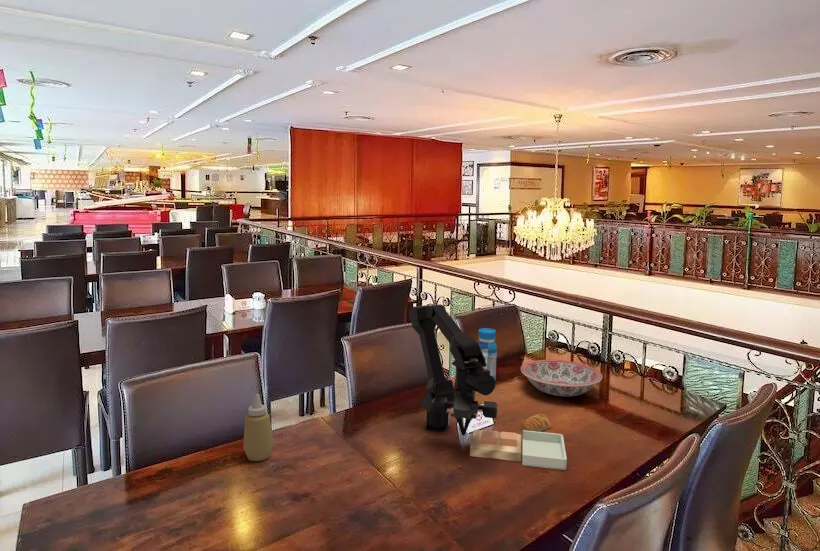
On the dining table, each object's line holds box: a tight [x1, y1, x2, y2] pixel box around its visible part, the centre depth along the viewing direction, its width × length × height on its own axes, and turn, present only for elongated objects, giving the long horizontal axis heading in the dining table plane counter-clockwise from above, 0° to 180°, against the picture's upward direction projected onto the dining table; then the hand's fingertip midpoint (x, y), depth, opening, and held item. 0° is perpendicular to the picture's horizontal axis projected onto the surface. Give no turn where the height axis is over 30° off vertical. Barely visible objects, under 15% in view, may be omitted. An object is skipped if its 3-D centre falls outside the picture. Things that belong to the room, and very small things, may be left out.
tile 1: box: [481, 429, 499, 444], centre depth 158 cm, size 4×4×2 cm
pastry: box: [521, 413, 552, 432], centre depth 173 cm, size 9×7×4 cm
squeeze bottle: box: [242, 393, 274, 462], centre depth 150 cm, size 8×8×18 cm
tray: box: [521, 430, 568, 471], centre depth 156 cm, size 12×16×3 cm
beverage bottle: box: [475, 327, 498, 381], centre depth 216 cm, size 8×8×20 cm
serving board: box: [469, 429, 522, 463], centre depth 158 cm, size 14×12×2 cm
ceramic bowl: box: [520, 359, 603, 397], centre depth 204 cm, size 29×29×8 cm
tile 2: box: [500, 431, 518, 447], centre depth 157 cm, size 4×4×2 cm
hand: (463, 435), depth 160 cm, fingers closed
